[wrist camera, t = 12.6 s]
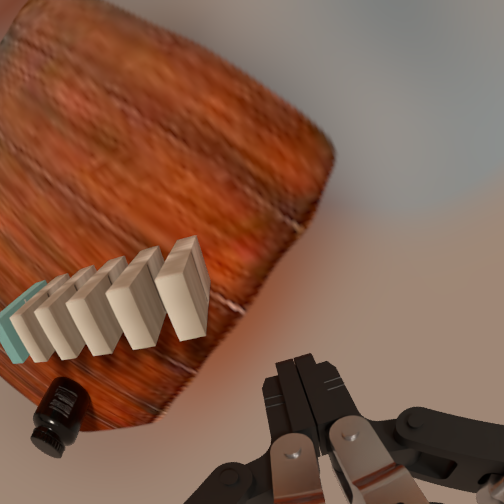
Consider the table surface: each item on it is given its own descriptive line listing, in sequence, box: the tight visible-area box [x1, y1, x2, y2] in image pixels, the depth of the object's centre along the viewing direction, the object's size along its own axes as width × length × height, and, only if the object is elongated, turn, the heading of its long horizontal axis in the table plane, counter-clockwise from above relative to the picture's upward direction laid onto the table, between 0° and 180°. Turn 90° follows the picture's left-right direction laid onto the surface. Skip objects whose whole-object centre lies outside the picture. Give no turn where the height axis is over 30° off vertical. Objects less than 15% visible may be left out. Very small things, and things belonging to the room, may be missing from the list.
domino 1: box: [0, 280, 47, 364], centre depth 23 cm, size 2×5×10 cm, turn 14°
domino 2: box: [10, 273, 70, 362], centre depth 23 cm, size 2×5×10 cm, turn 14°
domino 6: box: [155, 235, 210, 341], centre depth 23 cm, size 2×5×10 cm, turn 14°
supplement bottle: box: [31, 377, 90, 458], centre depth 27 cm, size 7×7×12 cm
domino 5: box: [105, 246, 167, 350], centre depth 23 cm, size 2×5×10 cm, turn 14°
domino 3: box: [34, 265, 97, 360], centre depth 23 cm, size 2×5×10 cm, turn 15°
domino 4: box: [65, 256, 128, 356], centre depth 23 cm, size 2×5×10 cm, turn 14°
